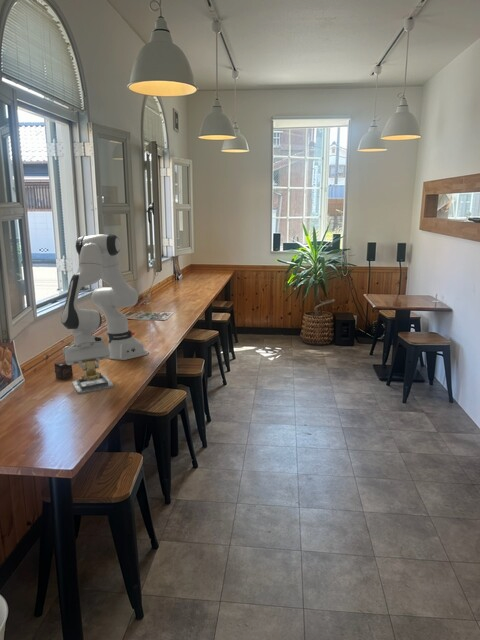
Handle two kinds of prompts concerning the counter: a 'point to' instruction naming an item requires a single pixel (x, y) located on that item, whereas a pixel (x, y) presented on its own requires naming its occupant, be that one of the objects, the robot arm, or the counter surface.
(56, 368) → the box
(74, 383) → the carrier
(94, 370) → the tan chunky piece
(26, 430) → the counter surface
